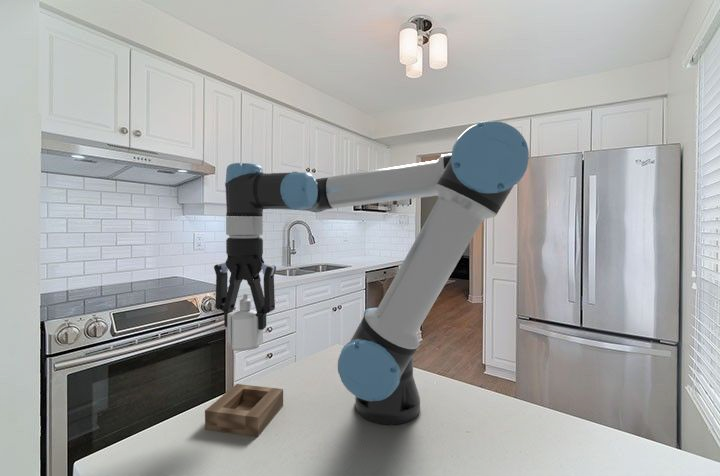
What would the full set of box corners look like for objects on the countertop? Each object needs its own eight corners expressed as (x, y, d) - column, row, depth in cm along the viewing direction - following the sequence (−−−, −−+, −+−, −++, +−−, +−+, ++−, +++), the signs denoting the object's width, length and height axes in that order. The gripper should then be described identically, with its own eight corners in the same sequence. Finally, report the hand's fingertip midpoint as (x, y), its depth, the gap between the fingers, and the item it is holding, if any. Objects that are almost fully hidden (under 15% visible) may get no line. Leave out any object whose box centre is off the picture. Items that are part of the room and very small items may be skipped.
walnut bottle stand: (283, 405, 81) (283, 389, 81) (258, 436, 69) (258, 417, 69) (236, 400, 83) (236, 383, 83) (205, 429, 72) (204, 410, 72)
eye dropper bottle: (253, 352, 73) (252, 296, 73) (228, 350, 74) (228, 295, 73) (262, 345, 77) (262, 292, 77) (238, 343, 78) (238, 291, 78)
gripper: (291, 236, 76) (291, 340, 77) (217, 235, 80) (217, 333, 81) (277, 238, 69) (277, 352, 70) (195, 236, 73) (196, 344, 74)
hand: (245, 342), depth 76 cm, fingers closed on eye dropper bottle, 5 cm apart
